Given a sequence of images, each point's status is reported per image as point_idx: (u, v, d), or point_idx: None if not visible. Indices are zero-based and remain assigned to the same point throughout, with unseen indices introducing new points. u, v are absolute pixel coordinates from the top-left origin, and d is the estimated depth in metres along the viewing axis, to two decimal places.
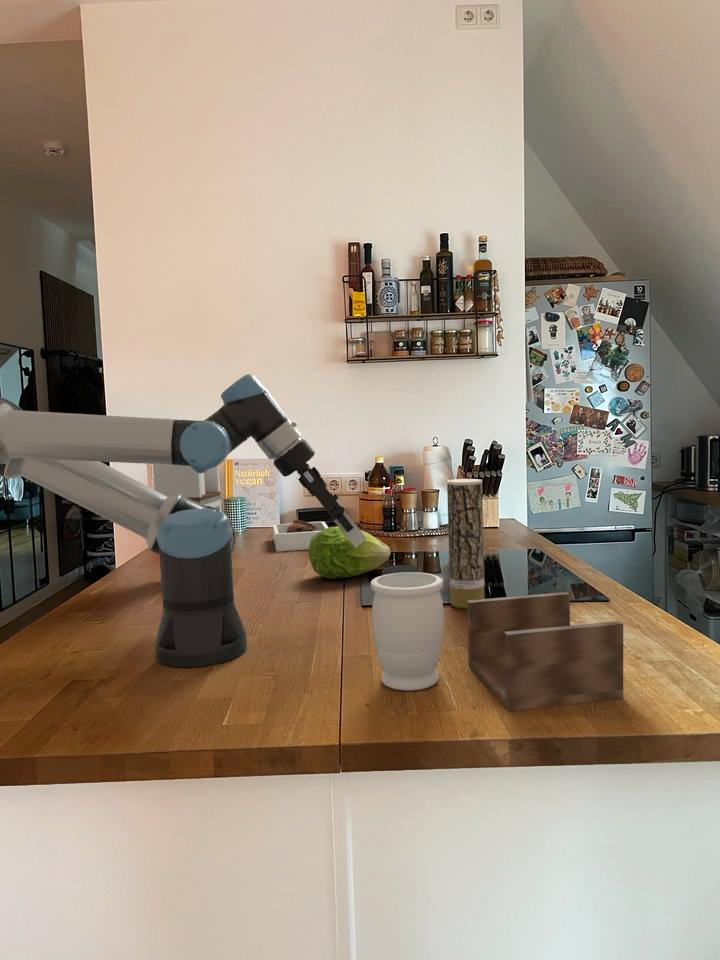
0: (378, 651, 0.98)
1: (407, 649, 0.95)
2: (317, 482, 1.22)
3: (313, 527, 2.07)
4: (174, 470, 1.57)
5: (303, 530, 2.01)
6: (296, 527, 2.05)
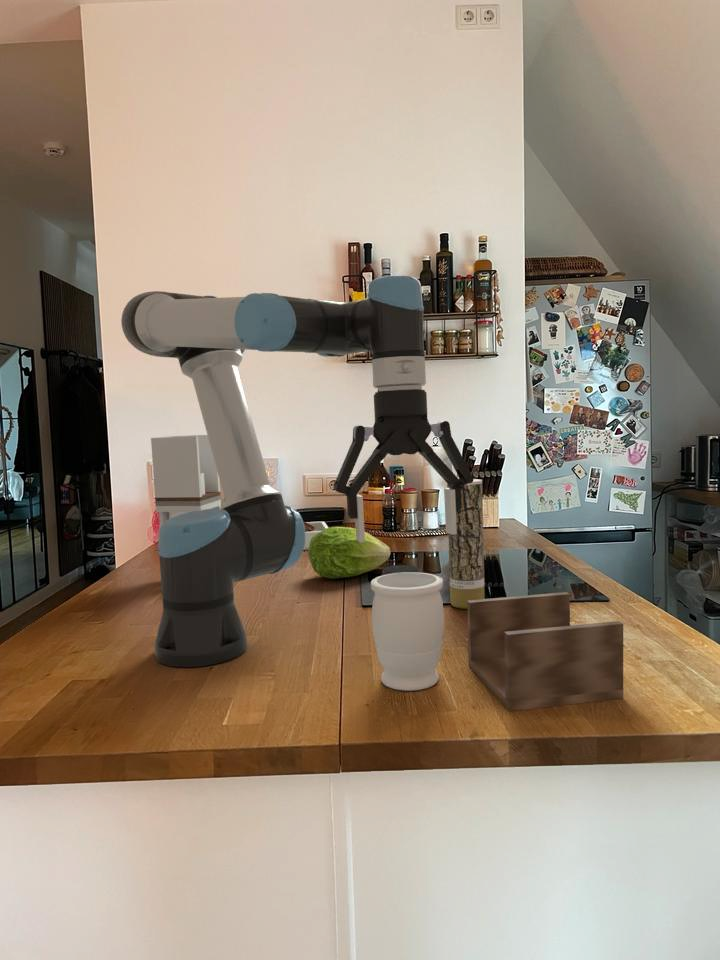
0: (378, 651, 0.98)
1: (407, 649, 0.95)
2: (353, 445, 0.96)
3: (312, 527, 2.07)
4: (174, 470, 1.57)
5: None
6: None
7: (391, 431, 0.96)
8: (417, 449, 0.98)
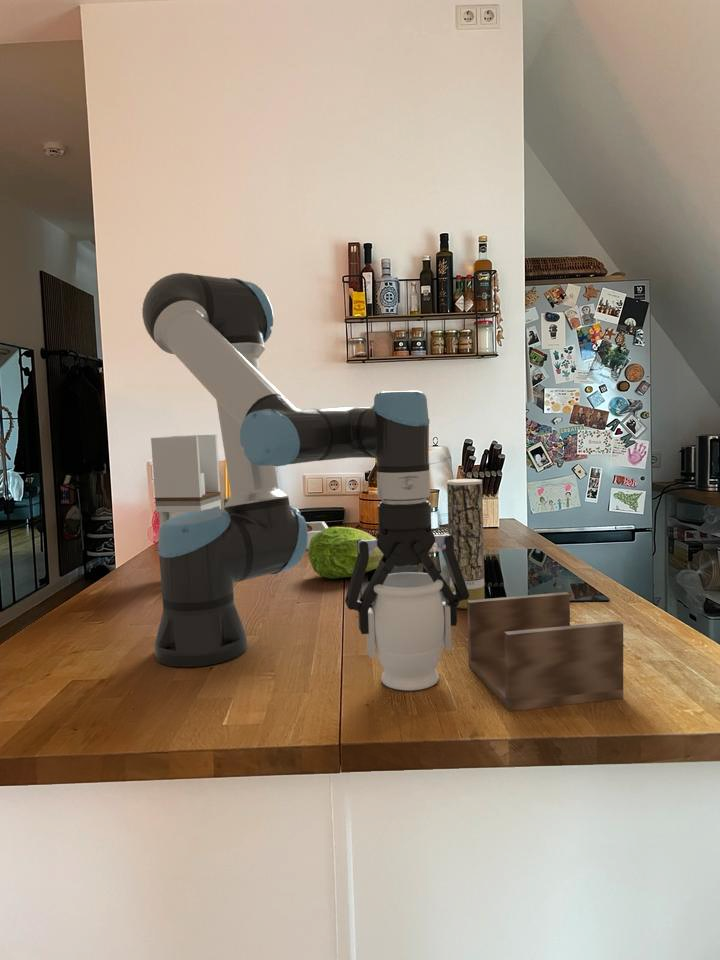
0: (378, 651, 0.98)
1: (407, 649, 0.95)
2: (358, 560, 0.97)
3: (310, 527, 2.07)
4: (174, 470, 1.57)
5: None
6: None
7: (394, 542, 0.97)
8: (418, 561, 0.98)
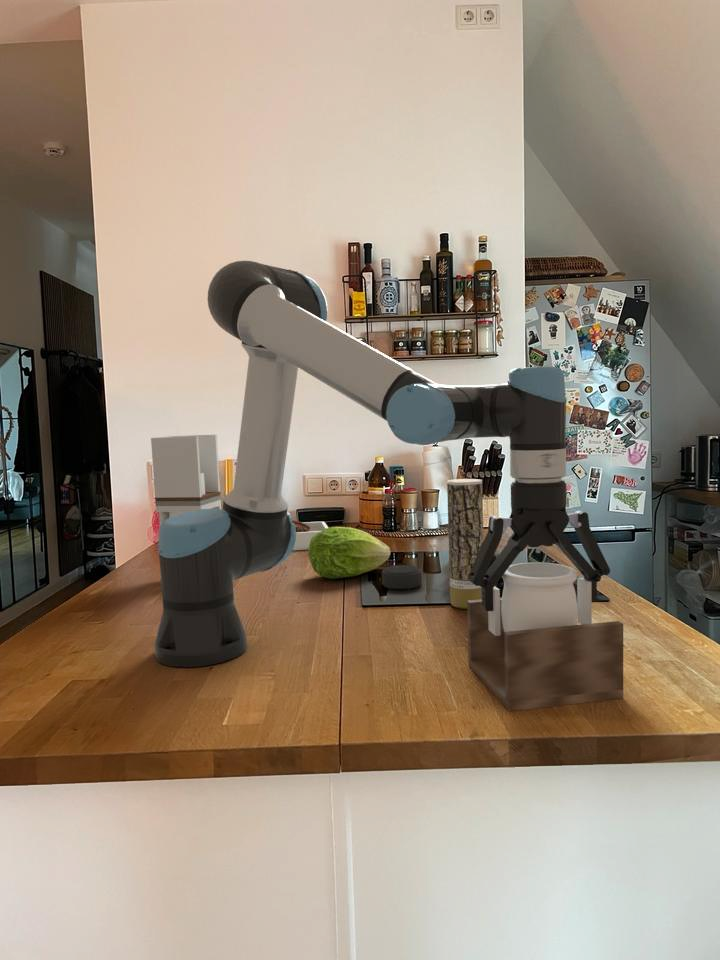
0: None
1: None
2: (490, 537, 0.94)
3: (307, 527, 2.07)
4: (174, 470, 1.57)
5: (297, 530, 2.01)
6: None
7: (529, 523, 0.94)
8: (555, 541, 0.95)
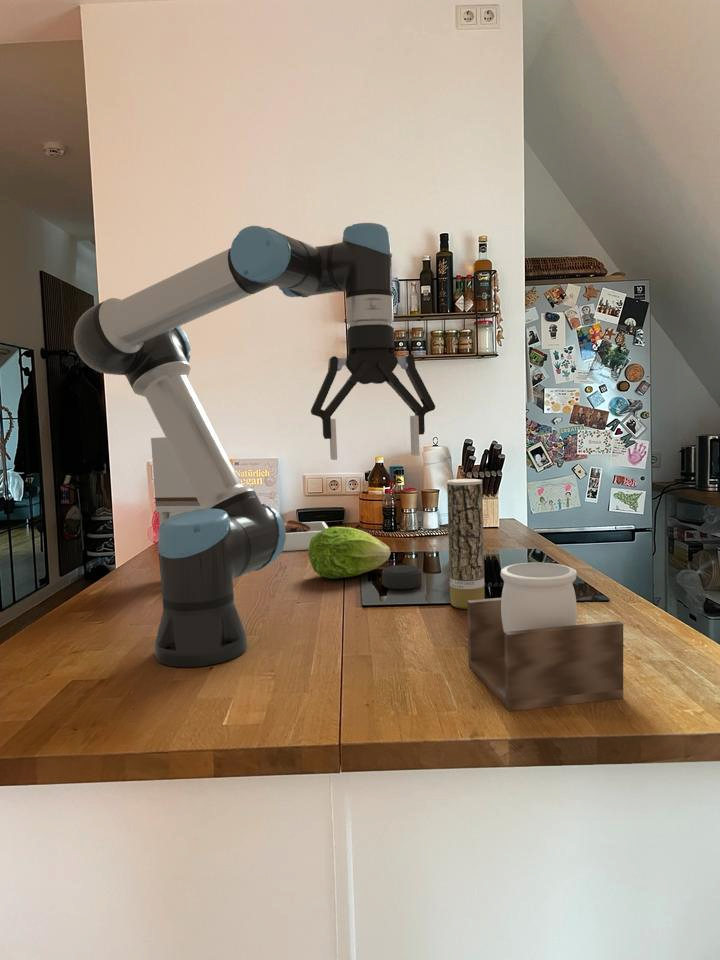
0: None
1: None
2: (327, 373, 1.09)
3: (307, 527, 2.07)
4: (174, 470, 1.57)
5: (297, 530, 2.01)
6: (290, 528, 2.04)
7: (361, 362, 1.10)
8: (385, 379, 1.10)
